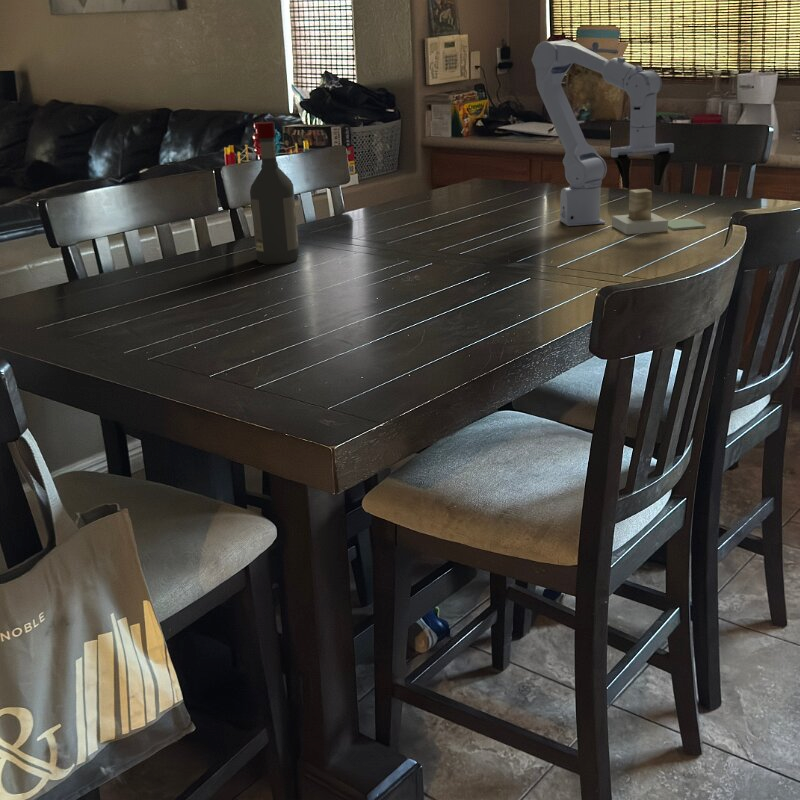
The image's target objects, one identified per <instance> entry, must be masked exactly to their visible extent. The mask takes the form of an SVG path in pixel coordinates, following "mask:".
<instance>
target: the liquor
mask: <svg viewBox="0 0 800 800" xmlns="http://www.w3.org/2000/svg"><path fill="white" fill-rule="evenodd" d="M256 126H257V127H256V128H257V137H258V139H259V145H260V156H261V165H260V167H261V169H260V171H259V173H257V176H256V178H255V179H254V180H253V182H252V184H251V186H250V190H249V195H250V206H251V214H252V225H253V234H254V245H255V250H256V251H255V252H256V253H255V255H256V260H257V262H258V263H259V264H262V263H263V264H262V265H277V264H279V265H281V264H290V263H293V262H296V261H297V260H298V257H299V255H300V254H299V253H300V247H299V237H298V236H299V233H298V225H297V224H298V223H297V222H298V221H297V213H296V203H295V202H296V201H295V200H296V199H295V190H294V189H295V188H294V184H293V182H292V180H291V179H290V177H288V175H286V173H285V172H284V171H283V170H282V169H281V168H280V167H279V163H278V162H277V154H276V145H275V144H276V143H275V138H276V132H275V131H276V129H275V122H274V121H263V122H262V121H261V122H258V123H256Z"/></svg>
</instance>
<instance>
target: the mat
mask: <svg viewBox="0 0 800 800" xmlns="http://www.w3.org/2000/svg"><path fill="white" fill-rule="evenodd" d="M667 220H668V229H670V230H672V231H681V230H682V231H683V230H692V229H693V230H694V229H705V228H706V226H707V225H705V224H704V223H701V222H699V221H696V220H695V219H694V218H693V219H692V218H679V219H667Z"/></svg>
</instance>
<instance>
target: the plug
mask: <svg viewBox="0 0 800 800" xmlns="http://www.w3.org/2000/svg"><path fill="white" fill-rule="evenodd" d="M628 191H629V194H628V215H629V219H630V220H632V221H639V220H651V213H652V199H653V191H652V190H650V189H648V188H637V189H629V190H628Z"/></svg>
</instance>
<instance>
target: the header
mask: <svg viewBox="0 0 800 800" xmlns="http://www.w3.org/2000/svg"><path fill="white" fill-rule="evenodd" d="M668 220H669V219H666V218H664V217H661V215H660V216H659V215H657V214H655V213H653V212H651V220H639V221H632V220H630V219H629V214H622V215H621V214H620V215H612V217H611V227H612V228H613V229H616V230H618V231H619V232H621V233H623V234H625V235H637V234H648V233H661V232H668V231H669V230H668V229H669V228H668Z"/></svg>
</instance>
